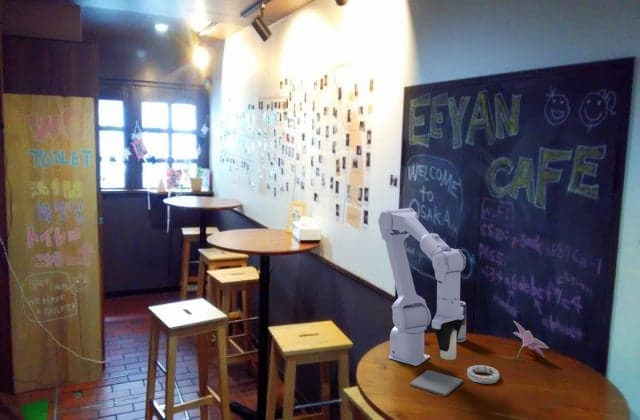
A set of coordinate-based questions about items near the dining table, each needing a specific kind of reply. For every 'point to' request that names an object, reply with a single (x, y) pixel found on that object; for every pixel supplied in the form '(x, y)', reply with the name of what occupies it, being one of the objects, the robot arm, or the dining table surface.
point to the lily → (529, 340)
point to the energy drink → (463, 329)
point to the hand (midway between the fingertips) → (447, 347)
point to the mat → (436, 382)
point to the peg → (450, 348)
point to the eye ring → (484, 369)
